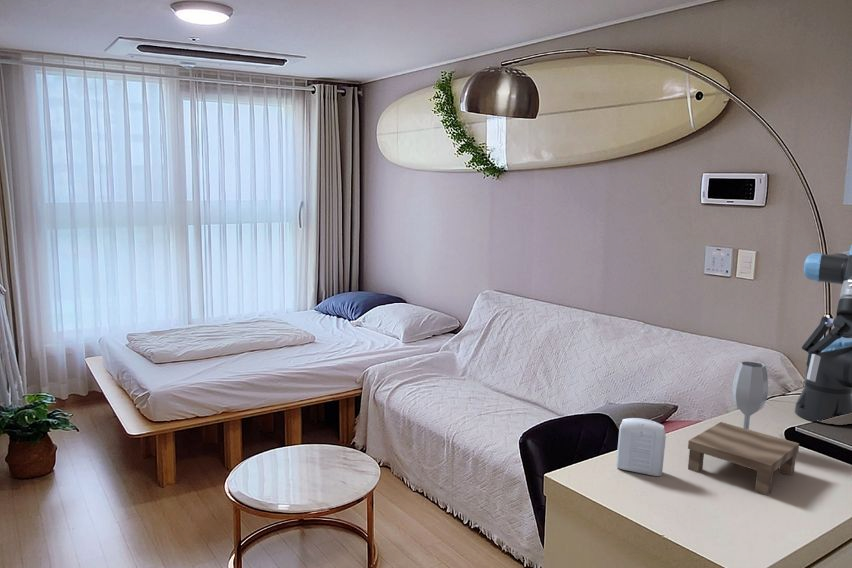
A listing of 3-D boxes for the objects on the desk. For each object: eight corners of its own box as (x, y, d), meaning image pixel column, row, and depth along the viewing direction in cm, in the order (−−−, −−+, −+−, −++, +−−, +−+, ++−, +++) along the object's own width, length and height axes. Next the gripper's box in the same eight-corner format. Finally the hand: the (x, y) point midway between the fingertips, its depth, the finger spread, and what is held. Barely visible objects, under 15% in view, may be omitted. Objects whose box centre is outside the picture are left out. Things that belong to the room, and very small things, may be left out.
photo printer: (663, 471, 155) (667, 420, 153) (661, 478, 151) (666, 426, 149) (617, 462, 158) (620, 413, 156) (615, 469, 155) (618, 418, 153)
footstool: (718, 448, 168) (720, 421, 167) (795, 471, 155) (799, 443, 154) (686, 469, 156) (688, 440, 155) (767, 496, 143) (771, 465, 142)
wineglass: (724, 445, 170) (732, 365, 167) (727, 433, 178) (734, 357, 175) (762, 452, 166) (771, 370, 163) (763, 440, 174) (772, 362, 171)
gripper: (798, 293, 173) (780, 373, 170) (907, 300, 151) (888, 391, 149) (814, 301, 176) (796, 379, 174) (922, 309, 155) (903, 398, 152)
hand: (838, 385), depth 161 cm, fingers open, 13 cm apart
